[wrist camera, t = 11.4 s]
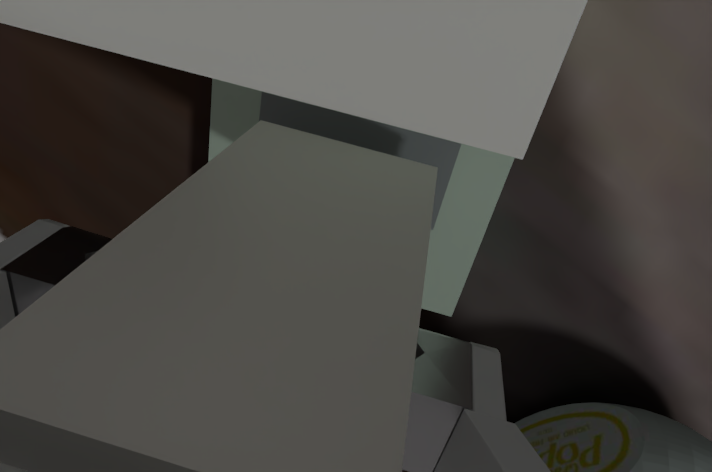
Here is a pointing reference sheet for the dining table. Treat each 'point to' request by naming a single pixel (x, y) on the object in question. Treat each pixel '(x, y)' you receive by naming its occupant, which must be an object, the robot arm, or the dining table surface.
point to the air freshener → (614, 440)
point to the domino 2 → (234, 322)
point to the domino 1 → (348, 54)
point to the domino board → (454, 160)
